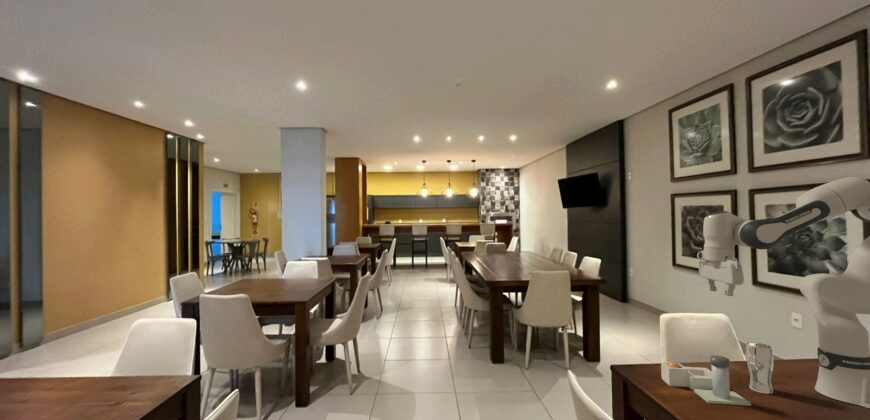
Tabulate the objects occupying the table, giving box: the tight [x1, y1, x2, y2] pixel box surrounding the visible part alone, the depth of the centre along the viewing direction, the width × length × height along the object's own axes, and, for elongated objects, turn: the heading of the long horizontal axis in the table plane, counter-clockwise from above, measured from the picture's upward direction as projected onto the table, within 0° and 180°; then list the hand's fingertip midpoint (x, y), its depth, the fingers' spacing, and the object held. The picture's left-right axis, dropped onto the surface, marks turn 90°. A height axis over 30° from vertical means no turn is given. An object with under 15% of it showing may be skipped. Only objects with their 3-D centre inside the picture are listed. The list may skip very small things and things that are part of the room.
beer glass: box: [745, 341, 774, 395], centre depth 122 cm, size 7×7×15 cm
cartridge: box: [709, 354, 731, 399], centre depth 116 cm, size 5×5×12 cm
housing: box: [660, 361, 713, 391], centre depth 127 cm, size 16×10×6 cm, turn 81°
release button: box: [668, 361, 679, 368], centre depth 128 cm, size 3×3×4 cm
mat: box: [693, 389, 752, 407], centre depth 116 cm, size 12×8×1 cm, turn 81°
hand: (720, 293), depth 131 cm, fingers open, 8 cm apart
